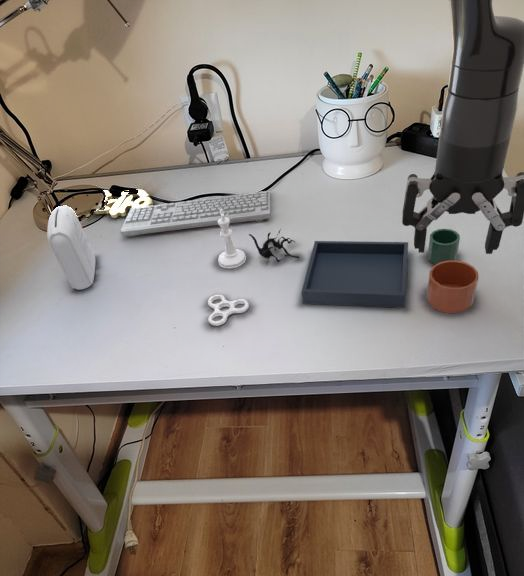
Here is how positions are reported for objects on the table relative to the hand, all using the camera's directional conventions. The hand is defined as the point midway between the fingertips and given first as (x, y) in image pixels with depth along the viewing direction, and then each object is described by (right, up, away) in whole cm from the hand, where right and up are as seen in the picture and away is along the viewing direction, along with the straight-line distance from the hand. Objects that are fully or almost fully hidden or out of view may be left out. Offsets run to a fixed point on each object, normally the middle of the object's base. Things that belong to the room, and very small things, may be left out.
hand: (454, 249), depth 68 cm
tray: (-11, -2, +13) cm, 17 cm away
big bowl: (+2, -6, +7) cm, 9 cm away
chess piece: (-31, +2, +21) cm, 38 cm away
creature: (-23, +3, +20) cm, 31 cm away
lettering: (-61, +18, +42) cm, 76 cm away
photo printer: (-58, 0, +25) cm, 63 cm away
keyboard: (-39, +13, +33) cm, 53 cm away
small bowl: (+3, +1, +14) cm, 14 cm away
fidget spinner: (-31, -7, +12) cm, 34 cm away
